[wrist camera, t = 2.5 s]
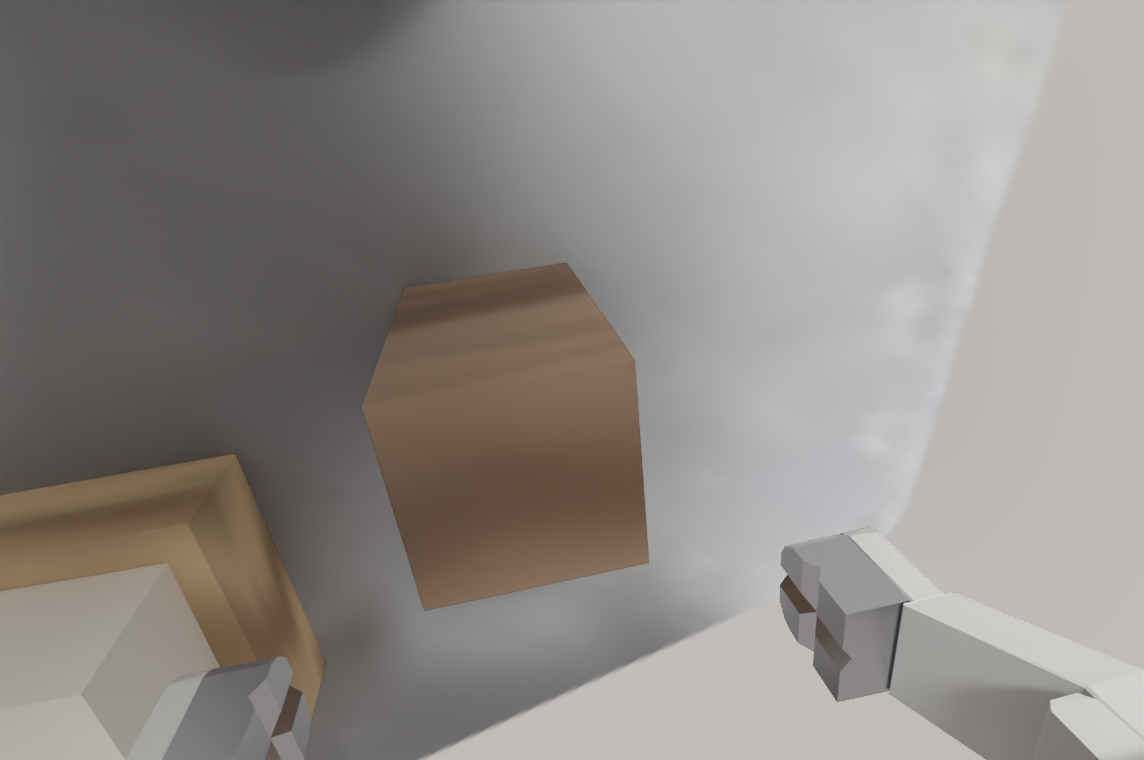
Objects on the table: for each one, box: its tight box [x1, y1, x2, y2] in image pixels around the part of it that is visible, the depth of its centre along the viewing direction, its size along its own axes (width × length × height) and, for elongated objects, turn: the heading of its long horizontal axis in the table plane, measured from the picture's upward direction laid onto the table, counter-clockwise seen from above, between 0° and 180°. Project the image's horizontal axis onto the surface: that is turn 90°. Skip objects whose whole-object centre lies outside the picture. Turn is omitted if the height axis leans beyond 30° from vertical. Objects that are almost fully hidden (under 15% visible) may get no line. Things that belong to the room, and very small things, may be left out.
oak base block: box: [0, 454, 326, 724], centre depth 19 cm, size 10×10×4 cm
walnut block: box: [361, 263, 649, 611], centre depth 15 cm, size 5×5×8 cm
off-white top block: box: [0, 563, 220, 760], centre depth 15 cm, size 8×8×4 cm
